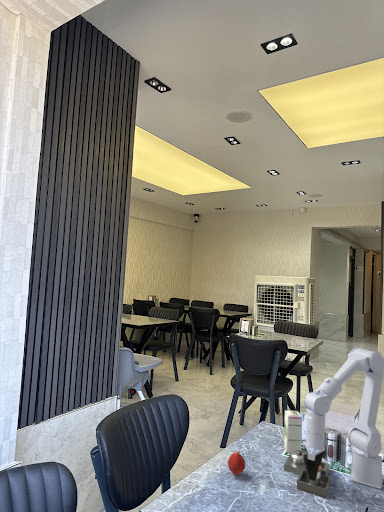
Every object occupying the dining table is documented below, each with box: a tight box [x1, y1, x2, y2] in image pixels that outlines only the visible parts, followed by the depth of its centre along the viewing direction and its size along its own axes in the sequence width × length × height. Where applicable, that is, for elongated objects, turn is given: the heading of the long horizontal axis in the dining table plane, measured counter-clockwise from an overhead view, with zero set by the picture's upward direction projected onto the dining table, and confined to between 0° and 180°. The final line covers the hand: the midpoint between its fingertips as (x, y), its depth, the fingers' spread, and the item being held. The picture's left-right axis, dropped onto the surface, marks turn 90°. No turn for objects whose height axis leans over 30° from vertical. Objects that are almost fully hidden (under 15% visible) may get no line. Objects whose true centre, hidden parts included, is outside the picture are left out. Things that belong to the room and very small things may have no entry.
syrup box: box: [283, 410, 303, 454], centre depth 143 cm, size 6×6×14 cm
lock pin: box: [307, 465, 322, 487], centre depth 118 cm, size 5×5×6 cm
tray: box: [296, 469, 332, 499], centre depth 117 cm, size 9×9×2 cm
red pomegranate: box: [227, 450, 246, 476], centre depth 121 cm, size 6×6×8 cm
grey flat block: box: [283, 450, 331, 476], centre depth 128 cm, size 14×10×5 cm
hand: (314, 474), depth 117 cm, fingers open, 7 cm apart
